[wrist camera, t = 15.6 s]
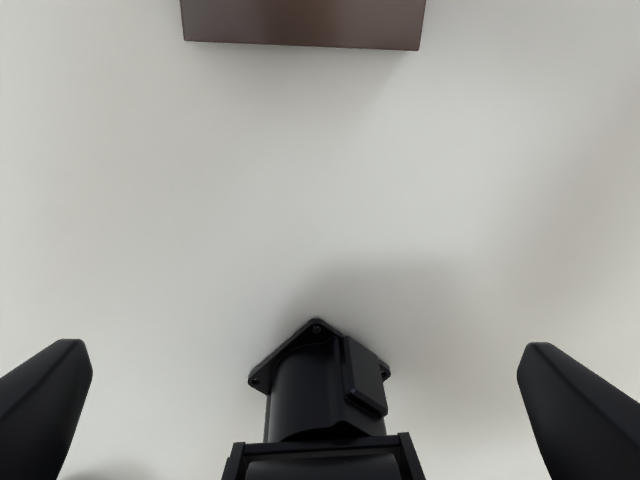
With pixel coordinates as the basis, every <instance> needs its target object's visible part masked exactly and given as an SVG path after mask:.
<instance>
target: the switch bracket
mask: <svg viewBox="0 0 640 480" xmlns="http://www.w3.org/2000/svg"><path fill="white" fill-rule="evenodd" d="M425 4H426V0H180V7H181V16H182V26H183V36H184V40H185V41H195V42H218V43H241V44H265V45H288V46H311V47H334V48H357V49H380V50H404V51H418V50H419V46H420V39H421V32H422V25H423V18H424V11H425Z"/></svg>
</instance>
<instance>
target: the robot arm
mask: <svg viewBox="0 0 640 480" xmlns="http://www.w3.org/2000/svg"><path fill="white" fill-rule="evenodd" d="M315 326H318V327H319V328H313V327H315ZM390 375H391V373H390V368H389V366H388V365H387V364H385V363H384V362H382V361H381V360H379V359H378V358H377V356H376V355H375V354H374V353H372V352H371V351H369V350H368V349H366V348H365V347H364V346H362V345H361V344H359V343H358V342H356V341H355V340H353V339H352V338H351V337H349V336H345V335H343V334H342V333H340V332H339V331H337V330H336V329H334V328H333V327H332V326H330V325H329V324H327V323H326V322H324V321H323V320H321V319H318V318H315V319H312V320H310V321H309V322H308V323H306V324H305V325H304V326H303V327H302V328H301V329H300V330H298V331H297V332H296V333H295V334H294V335H293V336H292V337H291V338H289V339H288V340H287V341H286V342H285V343H284V344H283V345H281V346H280V347H279V348H278V349H277V350H276V351H275V352H274V353H272V354H271V355H270V356H269V357H268V358H267V359H266V360H264V361H263V362H262V363H261V364H260V365H259V366H258V367H257V368H255V369H254V370H253V371H252V372H251V373H250V374H249V376H248V384H249V385H250V386H251V387H253V388H255V389H256V390H258V391H260V392H262V393H263V394H265V395H267V404H266V415H265V427H264V439H263V443H252V444H245V442H236V443H234V444H233V448H232V451H231V455H230V457H228V458H227V461H226V465H225V468H224V472H223V475H222V479H221V480H426V478H425V476H424V473H423V470H422V467H421V465H420V462H419V459H418V456H417V454H416V451H415V448H414V446H413V443H412V440H411V437H410V435H409V432H403V433H398V434H397V435H387V433H386V428H385V423H384V417H385V416H386V415H387V414H388V406H387V401H386V397H385V392H384V387H383V382H384V381H385V380H387V379H388V378H389V377H390ZM92 376H93V370H92V365H91V362H90V359H89V355H88V352H87V349H86V345H85V343H84V342H83V341H82V340H80V339H60V340H58V341H56V342H54V343H53V344H51V345H50V346H48V347H47V348H45V349H44V350H42V351H41V352H39V353H38V354H36V355H35V356H33V357H31V358H30V359H28V360H27V361H25V362H24V363H22V364H21V365H19V366H18V367H16V368H15V369H13V370H12V371H10V372H9V373H7V374H6V375H4V376H3V377H1V378H0V480H56V479H57V477H58V474H59V472H60V470H61V468H62V465H63V463H64V461H65V458H66V456H67V453H68V451H69V448H70V445H71V442H72V439H73V436H74V433H75V430H76V427H77V424H78V421H79V418H80V415H81V412H82V409H83V406H84V403H85V399H86V396H87V393H88V390H89V387H90V384H91V381H92ZM255 379H258V380H255ZM517 382H518V385H519V388H520V391H521V395H522V398H523V401H524V404H525V407H526V410H527V413H528V416H529V420H530V423H531V426H532V429H533V432H534V435H535V438H536V441H537V444H538V447H539V450H540V453H541V455H542V458H543V460H544V463H545V465H546V467H547V470H548V472H549V474H550V476H551V479H552V480H640V403H638V402H637V401H635V400H634V399H632V398H631V397H629V396H628V395H626V394H625V393H623V392H622V391H620V390H619V389H617V388H616V387H614V386H613V385H612V384H610V383H609V382H607V381H606V380H604V379H603V378H601V377H600V376H598V375H597V374H595V373H594V372H592V371H591V370H589V369H588V368H586V367H585V366H583V365H582V364H580V363H579V362H578V361H576V360H575V359H573V358H572V357H570V356H569V355H567V354H566V353H564V352H563V351H561V350H560V349H558V348H557V347H555V346H554V345H552V344H550V343H547V342H531V343H529V344H528V345H527V346H526V348H525V350H524V353H523V356H522V358H521V361H520V364H519V366H518V369H517Z"/></svg>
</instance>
